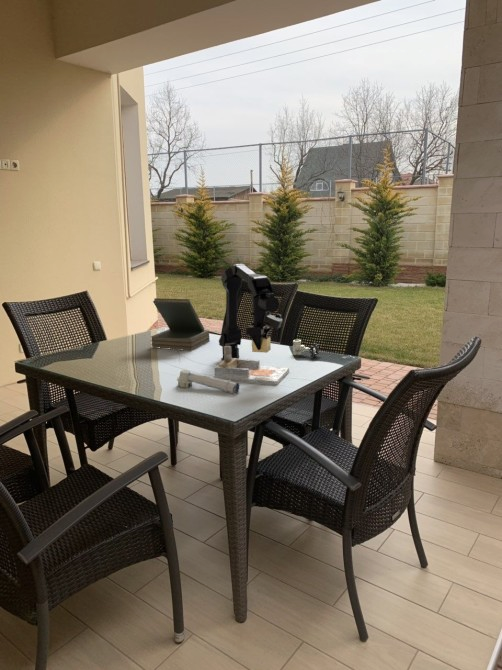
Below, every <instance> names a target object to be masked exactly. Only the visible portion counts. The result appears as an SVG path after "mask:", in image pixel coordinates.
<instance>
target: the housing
mask: <svg viewBox="0 0 502 670" xmlns="http://www.w3.org/2000/svg"><path fill="white" fill-rule="evenodd" d="M271 343H272V342H271V337H270V336H267V337H262V343H261V350H258V349H257V347H256V345H255V343H254V342H253V340H252V339H251V350H252V351H251V352H252V353H265V354H268V353H269V351H271V350H272V349H271V345H272V344H271Z"/></svg>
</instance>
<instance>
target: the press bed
mask: <svg viewBox="0 0 502 670" xmlns="http://www.w3.org/2000/svg"><path fill="white" fill-rule="evenodd" d="M260 364H261V363H260V360H259V359H249V358H247V359H245V358H237V367H236V368H232V367H219V365H217V366H214V367H213V368H214V369H213V370H214V374H213V375H212V377H213V378H218V379H223V380H228V381H229V380H231V381H232V382H235V383H247V384H256V385H257V384H258V385H259V384H260V385H270V386H271V385H272V386H277V385H279V383H280V382H281V381H282V380H283V379H284V378H285V377H286V376H287V374H288V373H290V367H282V366H281V367H280V366H270V365H269V366H268V365H267V366H266V365H260Z"/></svg>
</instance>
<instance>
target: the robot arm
mask: <svg viewBox="0 0 502 670" xmlns="http://www.w3.org/2000/svg"><path fill="white" fill-rule="evenodd" d="M220 279H221V282H222V287H223V288H224V290H225V297H226V299H225V300H226V301H225V311H226V312H225V324H224V326H223V327H222V329H221V331H222V332H221V335H220V337H219V339H218V343H219V346H220V347H222V357H221V360H222V361H224V346H231V355H232V358H237V359H239V358H240V348H239V347H238V346H241V343H242V335H243V334H242V329H241V328H240V326H239V325H238V292H239V290H240V289H241V287H242V283H243V281H244V282H246V283H247V288H248V289H249V290H250V292H251V293H250V295H249V296H250V297H252V298H251V299H252V300H251V301H252V311H251V312H250V315H251V316H252V322H251V325H249V326H248V327H246V328H245V335H247V336H248V335H249V337H250V338H251V341H252V340H253V342H254V343H255V345H256V347H257V349H258V350H261V343H262V337H268V334H269V332H270V331H272V329H276V330H279V328H281V327H282V323H283V322H284V321H283V318H282V314H280V313H277V314H276V315H274V314H273V315H272V314H271V313H274V312H277V311H278V309H279V307H280V301H279V299H278V298H277V297H275V292H274V287H273V285H272V284H271V281H270V278H269V277H268V276H267V275H264V274H258V273H257V272H254V271H253V270H251V269H250V268H249V267H247V266H246V264H244V263H234V264H232V265H231V266H230V267H229V268H227V269H226V270H224V271H223V273H222V274H221V278H220Z"/></svg>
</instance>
